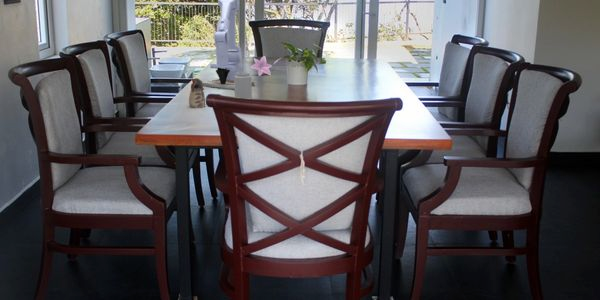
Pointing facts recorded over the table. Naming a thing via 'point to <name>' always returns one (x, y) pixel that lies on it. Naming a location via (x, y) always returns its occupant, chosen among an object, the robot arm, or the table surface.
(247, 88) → the can
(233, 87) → the plank
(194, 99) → the figurine
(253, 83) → the laid plank
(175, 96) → the table surface
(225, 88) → the underlay mat
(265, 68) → the lily
